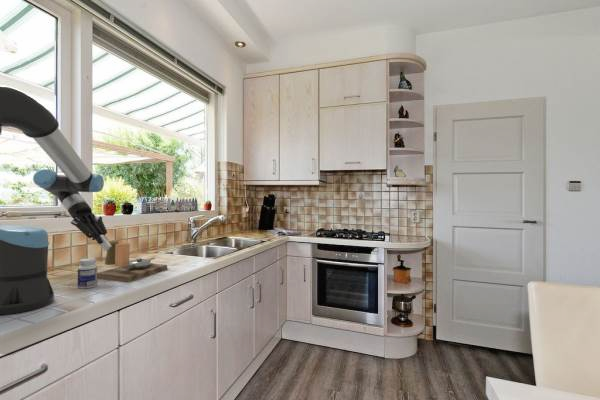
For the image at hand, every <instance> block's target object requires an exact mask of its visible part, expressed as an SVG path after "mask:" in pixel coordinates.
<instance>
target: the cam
mask: <svg viewBox="0 0 600 400" xmlns="http://www.w3.org/2000/svg"><path fill="white" fill-rule="evenodd" d="M130 244H131V243H130V242H120V243H118V244H116V246H115V264H114V267H117V268H118V267H123V269H144V268H148V267H150V266H151V263H152V260H156V257H155V256H154V257H153V256H152V257H149V258H141V257H140V258H135V259H132V260H130V253H131V252H130V251H131V250H130V249H131V248H130V246H131V245H130Z"/></svg>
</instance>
